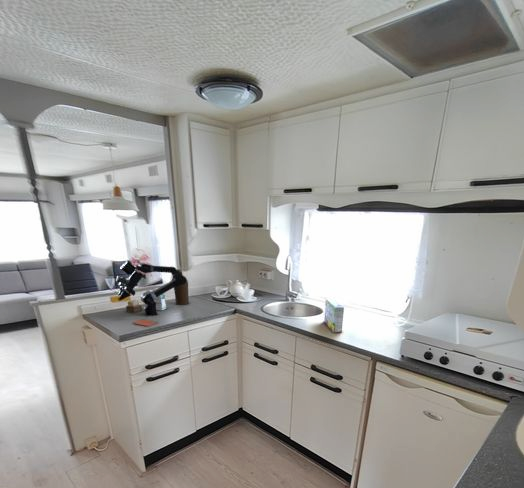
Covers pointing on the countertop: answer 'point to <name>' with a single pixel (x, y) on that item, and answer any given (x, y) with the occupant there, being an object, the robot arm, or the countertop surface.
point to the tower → (133, 306)
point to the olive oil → (181, 293)
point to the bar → (115, 298)
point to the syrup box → (160, 302)
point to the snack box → (334, 315)
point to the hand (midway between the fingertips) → (118, 299)
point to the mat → (145, 323)
